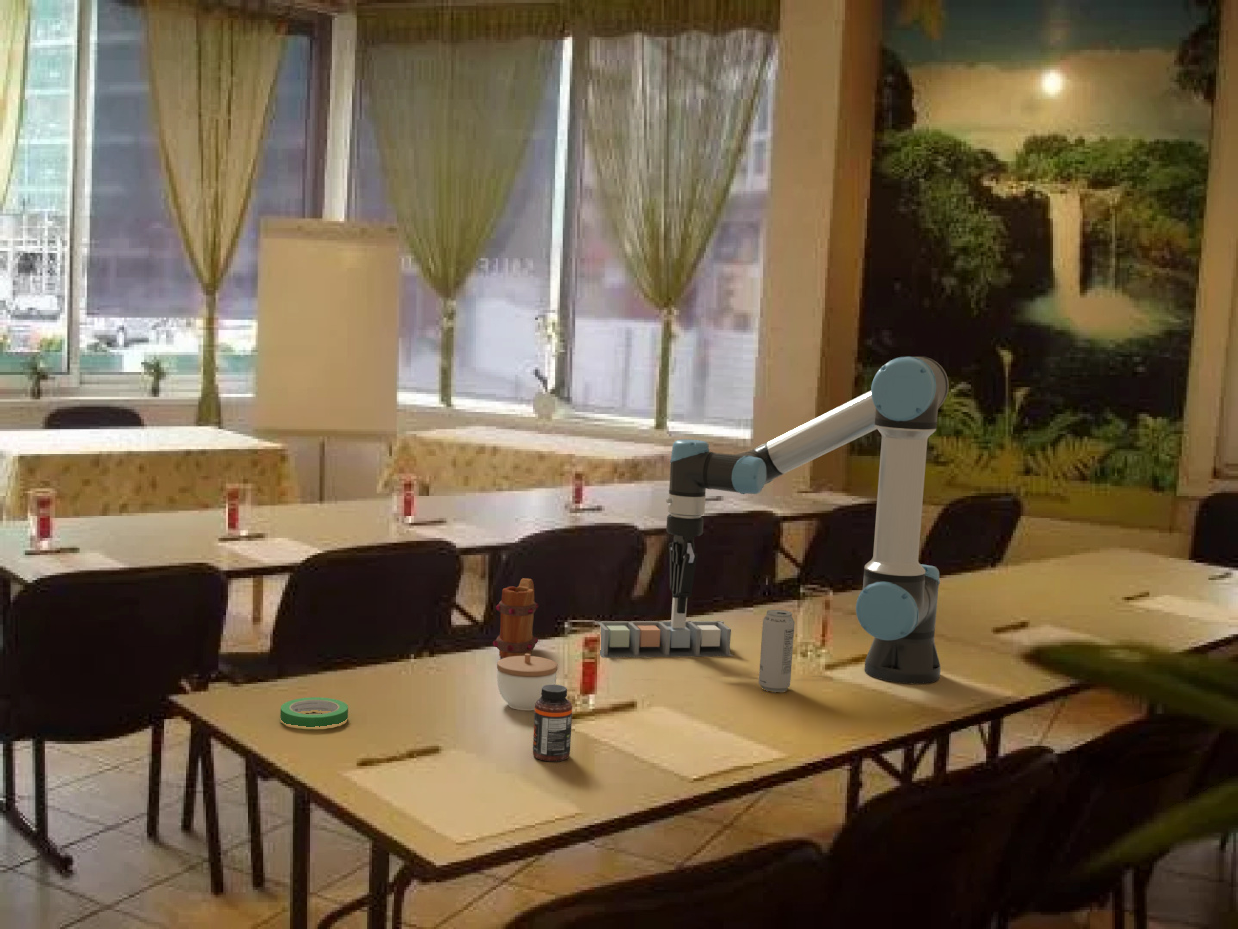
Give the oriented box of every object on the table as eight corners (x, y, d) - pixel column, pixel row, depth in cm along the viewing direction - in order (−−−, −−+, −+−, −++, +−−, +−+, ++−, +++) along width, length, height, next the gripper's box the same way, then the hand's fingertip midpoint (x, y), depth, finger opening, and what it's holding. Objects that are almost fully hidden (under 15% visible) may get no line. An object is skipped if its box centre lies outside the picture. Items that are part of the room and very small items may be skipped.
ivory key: (719, 646, 296) (720, 629, 296) (701, 646, 295) (702, 629, 295) (713, 641, 300) (714, 625, 299) (695, 641, 299) (696, 625, 298)
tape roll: (317, 736, 231) (317, 720, 231) (266, 723, 237) (266, 707, 236) (361, 720, 241) (361, 705, 241) (311, 708, 246) (311, 693, 246)
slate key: (689, 647, 294) (690, 631, 294) (671, 647, 293) (672, 631, 293) (684, 642, 298) (685, 626, 298) (665, 643, 297) (666, 626, 297)
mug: (528, 666, 281) (531, 591, 279) (488, 661, 282) (491, 587, 281) (546, 649, 295) (550, 577, 293) (508, 645, 297) (512, 574, 295)
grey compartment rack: (733, 660, 294) (735, 630, 293) (601, 662, 287) (603, 631, 286) (718, 648, 304) (720, 619, 303) (590, 649, 297) (592, 620, 296)
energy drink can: (764, 683, 278) (769, 607, 276) (794, 688, 275) (799, 612, 274) (753, 689, 273) (759, 613, 271) (783, 695, 270) (789, 617, 268)
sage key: (628, 647, 291) (629, 630, 291) (609, 647, 290) (610, 630, 290) (624, 642, 295) (624, 625, 295) (605, 642, 294) (606, 625, 294)
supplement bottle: (531, 750, 229) (535, 681, 228) (568, 751, 230) (572, 682, 229) (532, 762, 223) (536, 692, 222) (570, 763, 224) (574, 693, 223)
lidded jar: (509, 717, 247) (511, 664, 246) (485, 700, 256) (488, 649, 255) (565, 711, 252) (568, 659, 251) (540, 695, 261) (542, 645, 260)
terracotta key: (659, 646, 293) (660, 630, 292) (640, 646, 292) (641, 630, 291) (654, 642, 297) (655, 625, 296) (635, 642, 296) (636, 625, 295)
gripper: (659, 509, 298) (652, 620, 301) (677, 520, 285) (669, 635, 288) (693, 510, 300) (686, 620, 303) (712, 520, 287) (704, 635, 290)
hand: (678, 627), depth 295 cm, fingers closed
